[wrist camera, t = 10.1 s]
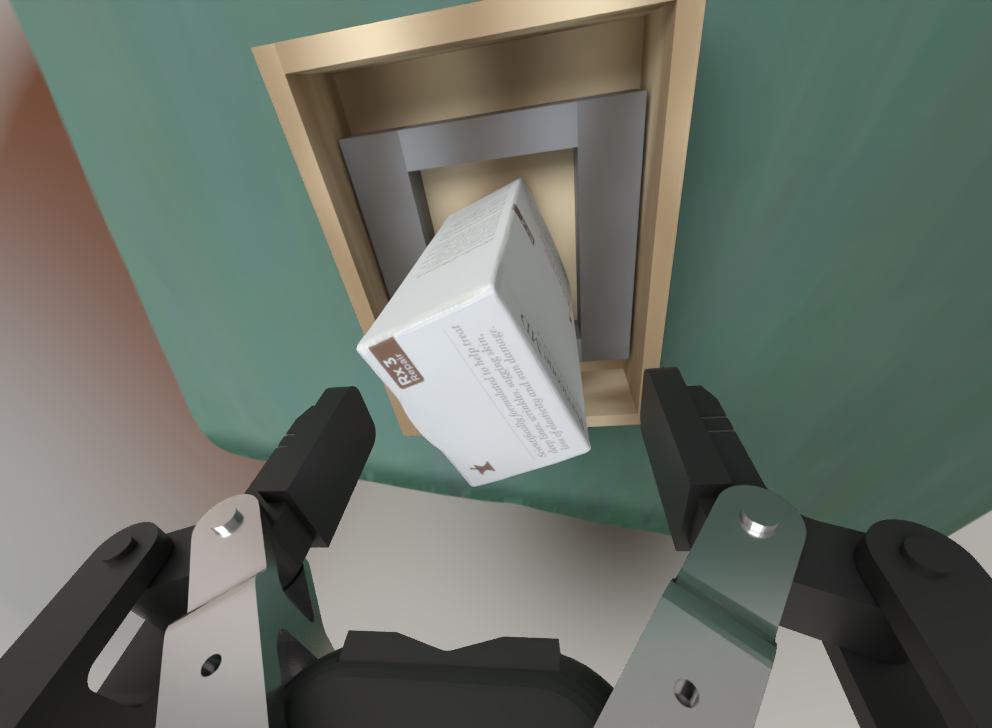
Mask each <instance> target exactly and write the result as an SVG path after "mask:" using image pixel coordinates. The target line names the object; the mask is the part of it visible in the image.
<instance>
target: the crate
mask: <svg viewBox="0 0 992 728" xmlns="http://www.w3.org/2000/svg"><path fill="white" fill-rule="evenodd" d="M705 3H706V0H484V1H479V2H474V3H469V4H464V5H459V6H455V7H450V8H445V9H440V10H435V11H430V12H425V13H420V14H415V15H410V16H405V17H400V18H395V19H391V20H386V21H381V22H376V23H371V24H366V25H361V26H356V27H351V28H346V29H341V30H336V31H331V32H327V33H322V34H317V35H312V36H307V37H302V38H297V39H292V40H287V41H282V42H277V43H272V44H268V45H263V46H258V47H253V48H251V50H252V52H253V55H254V57H255V60H256V62H257V65H258V67H259V70H260V72H261V75H262V77H263V80H264V82H265V85H266V88H267V90H268V93H269V95H270V98H271V100H272V103H273V105H274V108H275V110H276V113H277V115H278V118H279V120H280V123H281V126H282V128H283V131H284V133H285V136H286V138H287V141H288V143H289V146H290V148H291V151H292V153H293V156H294V158H295V161H296V163H297V166H298V169H299V171H300V174H301V176H302V179H303V181H304V184H305V186H306V189H307V191H308V194H309V196H310V199H311V201H312V204H313V207H314V209H315V212H316V214H317V217H318V219H319V222H320V224H321V227H322V229H323V232H324V234H325V237H326V239H327V242H328V245H329V247H330V250H331V252H332V255H333V257H334V260H335V262H336V265H337V267H338V270H339V272H340V275H341V277H342V280H343V283H344V285H345V288H346V290H347V293H348V295H349V298H350V300H351V303H352V305H353V308H354V310H355V313H356V315H357V318H358V320H359V323H360V326H361V328H362V331H363V333H364V336H365V334H366V333H367V332H368V330H369V329H370V328H371V326H372V325H373V324H374V322H375V321H376V319H377V318H378V317H379V315H380V314H381V312H382V311H383V310H384V308H385V307H386V305H387V304H388V302H389V301H390V300H391V298H392V297H393V295H394V294H395V292H396V291H397V290H398V288H399V287H400V285H401V284H402V282H403V281H404V279H405V278H406V277H407V275H408V274H409V272H410V271H411V269H412V268H413V267H414V265H415V264H416V262H417V261H418V259H419V258H420V256H421V255H422V253H423V252H424V250H425V249H426V248H427V246H428V245H429V244H430V242H431V241H432V239H433V238H434V237H435V235H436V234H437V232H438V231H439V229H440V228H441V226H442V225H443V223H444V222H445V220H446V219H447V217H448V216H449V215H451V214H453V213H455V212H457V211H459V210H461V209H463V208H464V207H466V206H468V205H470V204H472V203H474V202H476V201H478V200H479V199H481V198H483V197H485V196H487V195H489V194H490V193H492V192H494V191H496V190H498V189H500V188H501V187H503V186H505V185H507V184H509V183H510V182H512V181H514V180H516V179H517V178H519V177H522V178H523V179H524V181H525V183H526V184H527V186H528V188H529V190H530V192H531V194H532V196H533V198H534V200H535V202H536V204H537V206H538V208H539V210H540V213H541V215H542V217H543V219H544V221H545V223H546V225H547V227H548V230H549V232H550V234H551V236H552V239H553V241H554V243H555V246H556V248H557V251H558V253H559V255H560V258H561V261H562V263H563V266H564V269H565V271H566V274H567V277H568V281H569V285H570V292H571V300H572V309H573V317H574V325H575V332H576V339H577V347H578V355H579V362H580V371H581V379H582V388H583V397H584V404H585V416H586V423H587V427H598V426H618V425H638V424H641V423H640V408H641V397H642V386H643V375H644V371H645V369H650V368H659V367H660V359H661V351H662V343H663V335H664V327H665V319H666V311H667V303H668V296H669V288H670V280H671V272H672V264H673V256H674V248H675V240H676V232H677V224H678V217H679V209H680V201H681V193H682V185H683V177H684V169H685V161H686V153H687V146H688V138H689V130H690V122H691V114H692V106H693V98H694V90H695V82H696V74H697V67H698V59H699V51H700V43H701V35H702V27H703V19H704V11H705ZM383 384H384V386H385V389H386V391H387V394H388V396H389V399H390V402H391V404H392V407H393V409H394V412H395V414H396V417H397V419H398V422H399V424H400V427H401V429H402V432H403V434H404V436H417V435H422V434H421V433H420V432H419V431H418V430H417V428H416V427H415V426H414V424H413V423H412V422H411V421H410V419H409V418H408V416H407V414H406V413H405V411H404V409H403V407H402V405H401V403H400V402H399V400H398V399H397V398H396V396H395V395H394V394H393V393H392V392H391V390H390V389H389V388H388V387H387V386H386V385H385V383H384V382H383Z"/></svg>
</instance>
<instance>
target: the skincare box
mask: <svg viewBox="0 0 992 728" xmlns="http://www.w3.org/2000/svg"><path fill="white" fill-rule="evenodd" d="M357 352H358V353H359V354H360V355H361V357H362V358H363V359H364V360H365V361H366V362H367V363H368V365H369V366H370V367H371V368H372V369H373V370H374V372H375V373H376V374H377V375H378V376H379V378H380V379H381V380H382V381H383V382H384V383H385V385H386V386H387V387H388V388H389V389H390V390H391V392H392V393H393V394H394V395H395V396H396V398H397V399H398V400H399V402H400V403H401V405H402V407H403V409H404V411H405V413H406V414H407V416H408V418H409V419H410V421H411V422H412V423H413V424H414V426H415V427H416V428H417V430H418V431H419V432H420V433H421V434H422V435H423V436H424V437H425V438H426V439H427V440H428V441H429V442H430V443H431V444H433V445H434V446H436V447H437V448H438V449H440V450H441V451H442V452H443V453H444V455H445V456H446V457H447V458H448V459H449V460H450V461H451V463H452V464H453V465H454V466H455V467H456V469H457V470H458V471H459V472H460V473H461V475H462V476H463V477H464V478H465V479H466V481H467V482H468V483H469V484H470V485H471V486H473V487H476V486H479V485H483V484H487V483H491V482H495V481H498V480H502V479H505V478H508V477H511V476H515V475H518V474H521V473H525V472H528V471H531V470H535V469H538V468H542V467H545V466H548V465H552V464H555V463H558V462H561V461H564V460H567V459H569V458H572V457H575V456H578V455H581V454H584V453H587V452H588V451H589V450H590V449H591V445H590V441H589V435H588V429H587V423H586V416H585V404H584V397H583V388H582V379H581V371H580V362H579V355H578V347H577V339H576V332H575V325H574V317H573V309H572V300H571V292H570V285H569V281H568V277H567V274H566V271H565V269H564V266H563V263H562V261H561V258H560V255H559V253H558V251H557V248H556V246H555V243H554V241H553V239H552V236H551V234H550V232H549V230H548V227H547V225H546V223H545V221H544V219H543V217H542V215H541V213H540V210H539V208H538V206H537V204H536V202H535V200H534V198H533V196H532V194H531V192H530V190H529V188H528V186H527V184H526V183H525V181H524V179H523V178H522V177H519V178H517V179H516V180H514V181H512V182H510V183H509V184H507V185H505V186H503V187H501V188H500V189H498V190H496V191H494V192H492V193H490V194H489V195H487V196H485V197H483V198H481V199H479V200H478V201H476V202H474V203H472V204H470V205H468V206H466V207H464V208H463V209H461V210H459V211H457V212H455V213H453V214H451V215H449V216H448V217H447V219H446V220H445V222H444V223H443V225H442V226H441V228H440V229H439V231H438V232H437V234H436V235H435V237H434V238H433V239H432V241H431V242H430V244H429V245H428V246H427V248H426V249H425V250H424V252H423V253H422V255H421V256H420V258H419V259H418V261H417V262H416V264H415V265H414V267H413V268H412V269H411V271H410V272H409V274H408V275H407V277H406V278H405V279H404V281H403V282H402V284H401V285H400V287H399V288H398V290H397V291H396V292H395V294H394V295H393V297H392V298H391V300H390V301H389V302H388V304H387V305H386V307H385V308H384V310H383V311H382V312H381V314H380V315H379V317H378V318H377V319H376V321H375V322H374V324H373V325H372V326H371V328H370V329H369V330H368V332H367V333H366V334H365V336H364V337H363V338H362V340H361V341H360V342H359V344H358V346H357Z"/></svg>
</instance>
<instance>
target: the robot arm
mask: <svg viewBox="0 0 992 728" xmlns="http://www.w3.org/2000/svg"><path fill="white" fill-rule="evenodd" d="M640 423H641V431H642V435H643V439H644V442H645V446H646V449H647V453H648V456H649V460H650V463H651V466H652V470H653V473H654V477H655V480H656V484H657V487H658V491H659V494H660V498H661V501H662V504H663V508H664V511H665V515H666V518H667V522H668V525H669V529H670V532H671V535H672V539H673V542H674V546H675V549H676V551H690V552H689V554H688V556H687V558H686V560H685V562H684V564H683V566H682V568H681V570H680V572H679V574H678V575H677V577H676V578H675V579H674V578H673V579H672V580H671V582H670V583H669V585H668V586H667V588H666V590H665V591H664V593H663V595H662V597H661V599H660V601H659V603H658V605H657V607H656V609H655V610H654V612H653V614H652V616H651V618H650V620H649V622H648V624H647V626H646V628H645V630H644V632H643V633H642V635H641V637H640V639H639V641H638V643H637V645H636V647H635V649H634V651H633V653H632V655H631V657H630V658H629V660H628V662H627V664H626V666H625V668H624V670H623V672H622V674H621V676H620V678H619V680H618V682H617V684H616V685H615V687H614V688H613V687H612V686H611V685H610V684H609V683H608V682H607V681H606V680H604V679H603V678H602V677H601V676H600V675H598V674H597V673H596V672H594V671H593V670H592V669H590V668H589V667H587V666H586V665H584V664H582V663H580V662H578V661H576V660H575V659H572V658H570V657H567V656H564V655H562V654H561V653H560V647H559V639H550V638H524V637H501V638H497V639H493V640H489V641H485V642H482V643H478V644H474V645H471V646H467V647H463V648H459V649H455V650H452V651H443V650H440V649H438V648H435V647H433V646H430V645H427V644H425V643H423V642H420V641H417V640H415V639H412V638H410V637H407V636H405V635H402V634H400V633H397V632H375V631H351V630H350V631H348V634H347V637H346V640H345V643H344V646H343V648H340V649H338V650H334V648H333V646H332V644H331V642H330V640H329V639H328V637H327V635H326V633H325V630H324V627H323V623H322V619H321V614H320V610H319V605H318V601H317V596H316V593H315V587H314V583H313V579H312V574H311V570H310V566H309V562H308V561H307V559H306V558H305V557H306V555H307V553H308V551H309V549H310V547H329V545H330V543H331V540H332V538H333V536H334V534H335V531H336V529H337V526H338V524H339V522H340V520H341V518H342V515H343V513H344V511H345V509H346V506H347V504H348V502H349V500H350V497H351V495H352V493H353V491H354V488H355V486H356V484H357V481H358V479H359V477H360V475H361V472H362V470H363V468H364V466H365V463H366V461H367V459H368V457H369V454H370V452H371V450H372V448H373V445H374V442H375V436H376V432H375V425H374V422H373V420H372V418H371V416H370V414H369V411H368V409H367V407H366V405H365V403H364V400H363V398H362V396H361V394H360V392H359V390H358V389H357V388H356V387H354V386H350V387H334V388H328V389H326V390H325V391H324V393H323V394H322V396H321V397H320V399H319V400H318V402H317V403H316V405H315V406H311V407H310V408H309V409H308V410H307V411H305V412H304V413H303V414H302V415H301V416H299V417H298V418H297V419H296V420H295V422H294V423H293V425H292V426H291V428H290V429H289V430H288V432H287V433H286V434H287V436H284V438H283V439H282V440H281V442H280V443H279V445H278V448H276V449H275V450H274V452H273V453H272V455H271V456H270V458H269V459H268V460H267V462H266V463H265V465H264V466H263V468H262V469H261V471H260V472H259V473H258V475H257V476H256V478H255V479H254V480H253V482H252V483H251V485H250V486H249V488H248V489H247V490H246V492H245V493H244V494H240V495H235V496H233V497H230V498H228V499H225V500H223V501H221V502H220V503H218V504H217V505H215V506H214V507H213V508H211V509H210V510H209V511H208V512H207V513H206V514H205V515H204V516H203V517H202V518H201V519H200V520H199V522H198V523H197V524H196V525H194V526H191V527H188V528H184V529H181V530H177V531H174V532H171V533H167V534H165V533H164V532H163V531H162V530H161V529H160V528H158V527H157V526H156V525H155V524H154V523H151V522H142V523H138V524H134V525H131V526H129V527H127V528H125V529H123V530H121V531H119V532H117V533H116V534H114V535H113V536H111V537H110V538H109V539H108V540H106V541H105V542H104V543H102V545H100V546H99V547H98V548H97V549H96V550H95V551H94V552H93V553H92V555H91V556H90V557H89V558H88V559H87V560H86V561H85V563H84V564H83V565H82V566H81V567H80V568H79V569H78V570H77V572H76V573H75V574H74V575H73V576H72V577H71V578H70V580H69V581H68V582H67V583H66V584H65V585H64V586H63V588H62V589H61V590H60V591H59V592H58V593H57V595H56V596H55V597H54V598H53V599H52V600H51V601H50V602H49V604H48V605H47V606H46V607H45V608H44V609H43V610H42V612H41V613H40V614H39V615H38V616H37V617H36V619H35V620H34V621H33V622H32V623H31V624H30V625H29V627H28V628H27V629H26V630H25V631H24V632H23V633H22V634H21V636H20V637H19V638H18V639H17V640H16V641H15V643H14V644H13V645H12V646H11V647H10V648H9V649H8V650H7V652H6V653H5V654H4V655H3V656H2V658H0V728H155V727H156V728H754V726H755V722H756V719H757V716H758V712H759V709H760V706H761V702H762V699H763V696H764V693H765V689H766V686H767V682H768V679H769V676H770V673H771V669H772V666H773V662H774V658H775V654H776V649H777V644H776V642H775V637H776V633H777V630H778V626H782V627H785V628H787V629H791V630H793V631H797V632H799V633H802V634H805V635H808V636H811V637H814V638H816V639H819V640H822V642H823V645H824V647H825V649H826V651H827V654H828V656H829V658H830V660H831V663H832V665H833V667H834V670H835V672H836V674H837V676H838V679H839V681H840V683H841V685H842V688H843V690H844V692H845V694H846V697H847V699H848V701H849V703H850V706H851V708H852V710H853V712H854V715H855V717H856V719H857V721H858V724H859V726H860V728H992V578H991V577H990V576H989V575H988V574H987V572H986V571H985V570H984V569H983V568H982V566H981V565H980V564H979V563H978V562H977V561H976V560H975V558H974V557H973V556H972V555H971V554H970V553H968V552H967V551H966V550H965V549H964V548H963V547H961V546H960V545H959V544H957V543H956V542H955V541H953V540H951V539H950V538H948V537H947V536H945V535H943V534H941V533H939V532H937V531H935V530H933V529H931V528H928V527H926V526H923V525H920V524H917V523H914V522H909V521H905V520H896V519H893V520H883V521H879V522H877V523H875V524H873V525H872V526H871V527H870V528H869V529H868V531H867V532H866V533H864V532H860V531H856V530H852V529H848V528H844V527H840V526H836V525H832V524H828V523H824V522H820V521H816V520H813V519H810V518H808V517H805V516H803V515H800V514H799V513H798V511H797V510H796V509H795V508H794V507H793V506H792V505H791V504H790V503H789V502H788V501H786V500H785V499H784V498H782V497H781V496H779V495H778V494H776V493H774V492H772V491H769V490H768V489H767V488H766V486H765V485H764V483H763V481H762V479H761V478H760V476H759V474H758V472H757V470H756V468H755V467H754V465H753V463H752V461H751V459H750V458H749V456H748V454H747V452H746V450H745V449H744V447H743V445H742V443H741V441H740V439H739V438H738V436H737V434H736V432H734V431H733V427H732V425H731V423H730V421H729V420H728V418H726V414H725V412H724V410H723V409H722V407H721V405H720V403H719V401H718V400H717V398H715V397H714V396H713V395H712V394H710V393H709V392H708V391H707V390H705V389H704V388H703V387H702V386H686V384H685V382H684V380H683V378H682V376H681V374H680V372H679V370H678V368H677V367H666V368H650V369H645V371H644V375H643V386H642V397H641V408H640ZM130 610H131V611H132V612H134V613H136V614H137V615H139V616H140V617H142V618H143V619H145V621H144V623H143V624H142V626H141V627H140V629H139V630H138V632H137V633H136V635H135V637H134V638H133V640H132V641H131V642H130V644H129V646H128V647H127V648H126V650H125V651H124V653H123V654H122V656H121V657H120V659H119V661H118V662H117V663H116V665H115V666H114V668H113V669H112V671H111V672H110V674H109V675H108V677H107V678H106V680H105V681H104V683H103V684H102V686H101V687H100V689H99V690H98V692H97V693H95V692H93V691H91V690H90V689H89V687H88V683H87V678H88V674H89V671H90V668H91V666H92V664H93V663H94V661H95V660H96V658H97V657H98V656H99V654H100V653H101V651H102V650H103V648H104V647H105V646H106V644H107V643H108V641H109V640H110V639H111V637H112V636H113V634H114V633H115V631H116V630H117V629H118V627H119V626H120V625H121V623H122V622H123V620H124V619H125V618H126V616H127V614H128V613H129V612H130Z"/></svg>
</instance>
